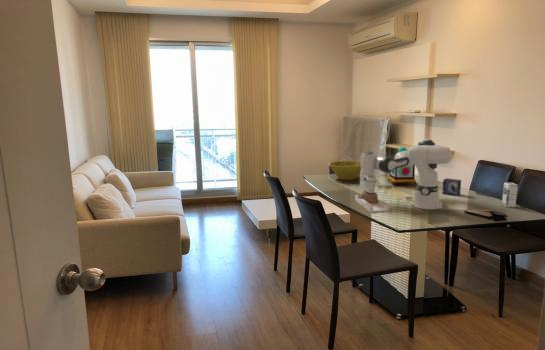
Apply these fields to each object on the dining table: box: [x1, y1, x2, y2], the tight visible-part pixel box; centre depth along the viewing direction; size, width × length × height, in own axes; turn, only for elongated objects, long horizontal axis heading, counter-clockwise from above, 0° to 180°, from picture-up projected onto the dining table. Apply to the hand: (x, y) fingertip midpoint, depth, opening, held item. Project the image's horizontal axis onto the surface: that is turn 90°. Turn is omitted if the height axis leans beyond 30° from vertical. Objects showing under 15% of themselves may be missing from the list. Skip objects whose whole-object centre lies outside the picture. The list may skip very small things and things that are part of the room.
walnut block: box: [361, 191, 378, 203], centre depth 257 cm, size 6×8×6 cm
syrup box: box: [501, 182, 519, 208], centre depth 244 cm, size 6×6×14 cm
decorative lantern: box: [387, 146, 417, 187], centre depth 311 cm, size 20×20×30 cm
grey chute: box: [354, 194, 390, 213], centre depth 253 cm, size 30×12×4 cm, turn 6°
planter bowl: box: [328, 160, 361, 181], centre depth 337 cm, size 32×32×13 cm
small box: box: [441, 177, 462, 197], centre depth 277 cm, size 11×6×10 cm, turn 47°
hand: (366, 196), depth 262 cm, fingers closed
